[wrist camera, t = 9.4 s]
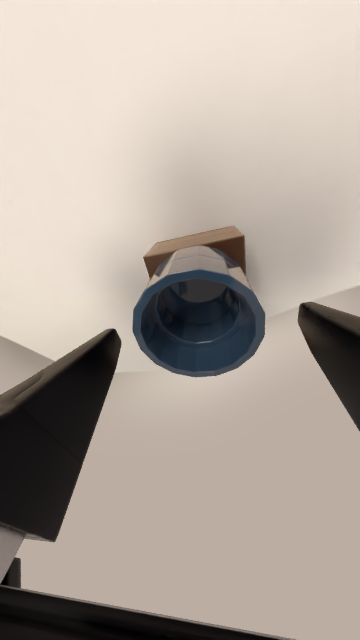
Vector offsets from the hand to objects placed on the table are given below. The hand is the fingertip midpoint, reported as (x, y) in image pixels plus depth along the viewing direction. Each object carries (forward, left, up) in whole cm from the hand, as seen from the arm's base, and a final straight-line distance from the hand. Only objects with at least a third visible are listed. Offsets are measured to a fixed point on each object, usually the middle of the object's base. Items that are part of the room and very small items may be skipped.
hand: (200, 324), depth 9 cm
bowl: (0, 0, -4) cm, 4 cm away
